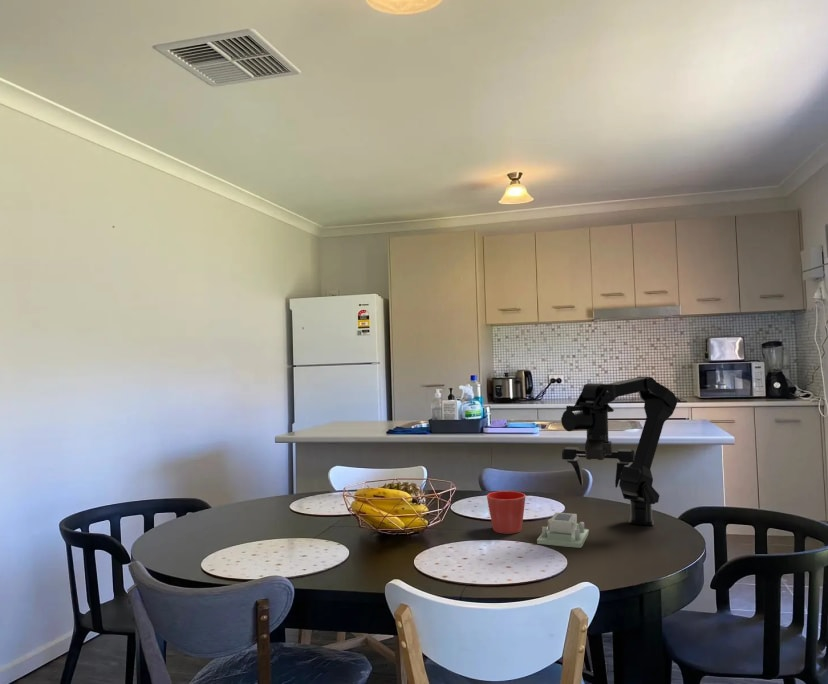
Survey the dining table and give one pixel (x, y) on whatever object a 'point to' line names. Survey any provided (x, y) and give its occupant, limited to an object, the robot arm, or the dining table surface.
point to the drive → (563, 524)
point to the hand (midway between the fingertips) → (598, 486)
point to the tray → (564, 537)
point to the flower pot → (506, 511)
